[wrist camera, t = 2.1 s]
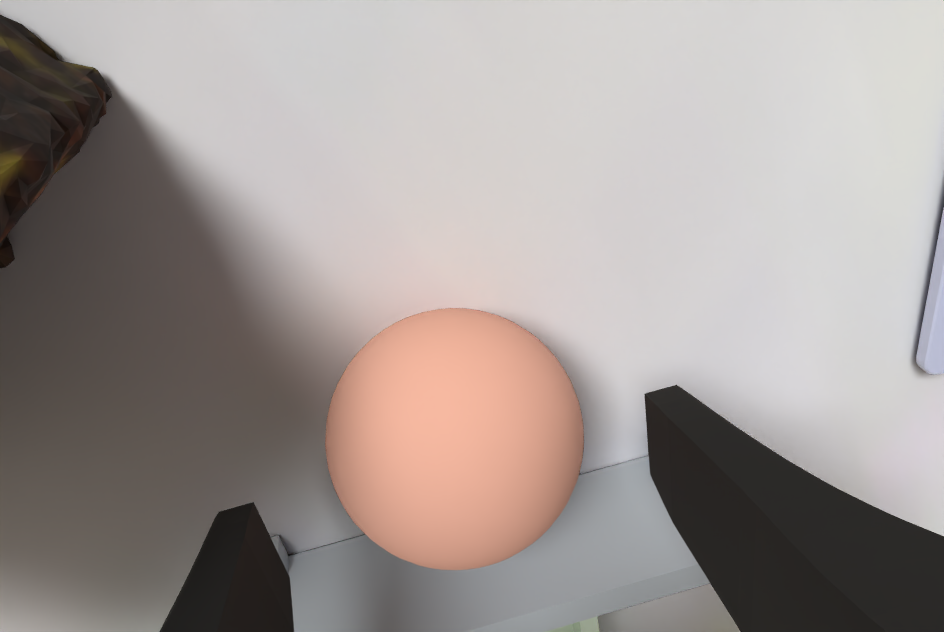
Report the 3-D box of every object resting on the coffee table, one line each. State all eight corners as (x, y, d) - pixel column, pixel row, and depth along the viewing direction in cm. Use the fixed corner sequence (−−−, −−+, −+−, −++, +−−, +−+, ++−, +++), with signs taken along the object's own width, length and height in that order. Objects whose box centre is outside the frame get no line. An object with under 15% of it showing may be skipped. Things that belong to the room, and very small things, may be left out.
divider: (691, 420, 19) (762, 521, 16) (693, 486, 21) (759, 590, 18) (230, 548, 18) (216, 678, 15) (262, 607, 20) (255, 739, 17)
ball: (527, 238, 16) (611, 377, 11) (555, 418, 18) (631, 584, 14) (291, 298, 15) (289, 465, 11) (355, 472, 18) (372, 659, 14)
